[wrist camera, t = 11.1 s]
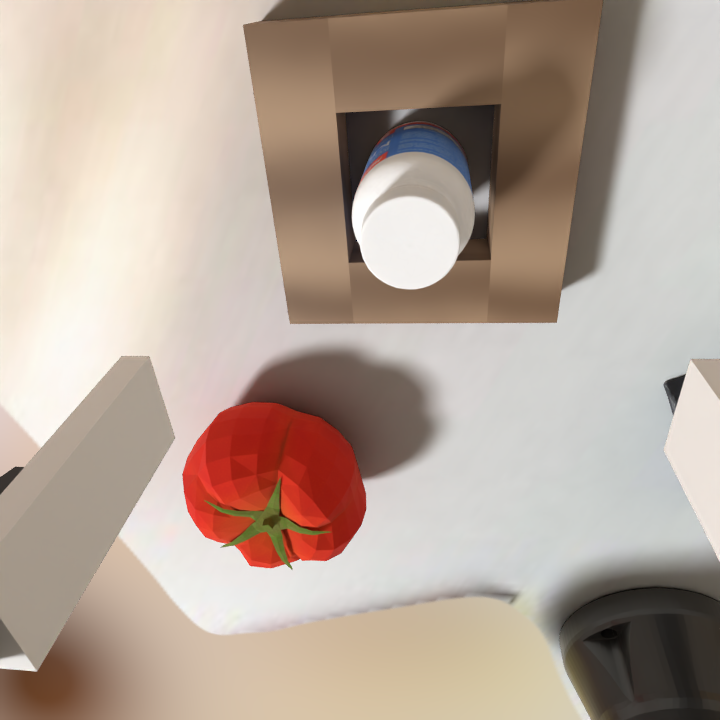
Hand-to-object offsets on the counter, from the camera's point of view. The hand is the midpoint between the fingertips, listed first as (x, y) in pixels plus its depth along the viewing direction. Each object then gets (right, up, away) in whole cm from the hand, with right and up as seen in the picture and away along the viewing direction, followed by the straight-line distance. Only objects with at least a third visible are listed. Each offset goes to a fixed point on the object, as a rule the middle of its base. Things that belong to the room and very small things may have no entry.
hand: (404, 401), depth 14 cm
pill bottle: (+2, +11, +16) cm, 20 cm away
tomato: (-6, -5, +28) cm, 30 cm away
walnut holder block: (+2, +11, +16) cm, 19 cm away
